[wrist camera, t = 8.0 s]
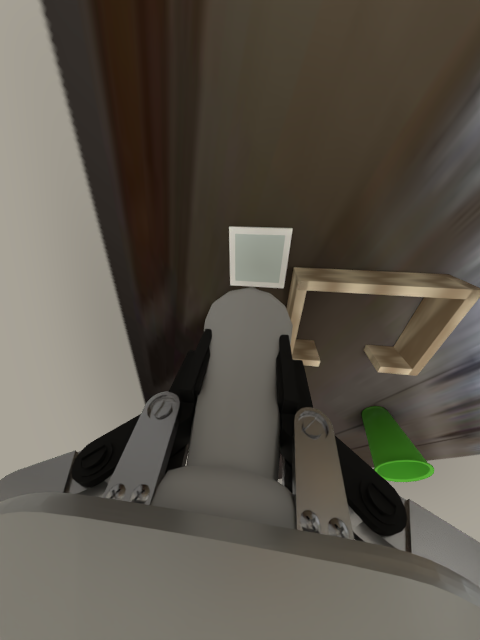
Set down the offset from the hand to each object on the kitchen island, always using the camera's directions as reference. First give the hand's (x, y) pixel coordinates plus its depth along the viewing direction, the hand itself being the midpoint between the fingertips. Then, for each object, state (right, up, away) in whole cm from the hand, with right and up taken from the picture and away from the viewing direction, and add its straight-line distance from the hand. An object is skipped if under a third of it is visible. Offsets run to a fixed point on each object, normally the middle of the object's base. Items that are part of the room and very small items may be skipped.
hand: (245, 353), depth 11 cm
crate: (+17, +3, +19) cm, 26 cm away
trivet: (+2, +11, +16) cm, 19 cm away
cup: (+30, -19, +32) cm, 47 cm away
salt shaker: (0, +3, +4) cm, 5 cm away
